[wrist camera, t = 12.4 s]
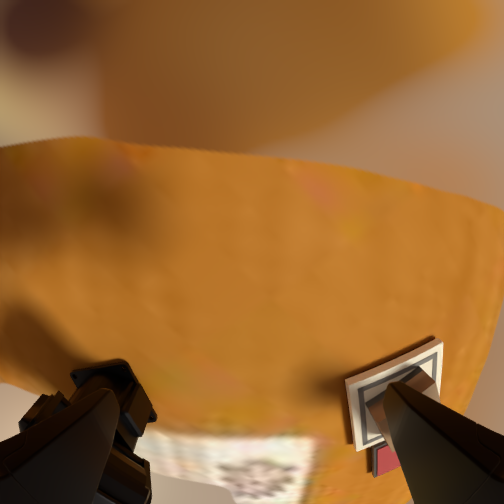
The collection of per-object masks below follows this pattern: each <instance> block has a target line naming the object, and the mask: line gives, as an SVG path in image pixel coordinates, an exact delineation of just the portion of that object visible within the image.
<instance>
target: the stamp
mask: <svg viewBox="0 0 504 504" xmlns="http://www.w3.org/2000/svg"><path fill="white" fill-rule="evenodd" d="M399 381H401V382H403V383H405V384H407V385H408V386H410V387H412V388H414V389H416V390H417V391H419V392H421V393H423V394H424V395H426V396H428V397H430V398H432V399H433V400H435V401H437V402H439V403H440V398H439V393H438V389H437V385H436V382H435V381H434V380H433V379H432V378H431V377H430V376H429V375H428V374H427V373H426V372H425V371H424V370H423V369H422V368H421V367H420V366H418V367H417V368H415V369H414V370H413V371H411V372H410V373H409V374H407V375H406V376H405V377H403V378H402V379H400V380H399ZM385 392H386V390H384V391H383V392H381V393H380V394H378V395H377V396H375V397H374V398H372V399H370V400H369V401H367V402H366V403H365V404H366V406H367V408H368V410H369V412H370V414H371V416H372V418H373V420H374V421H375V423H376V425H377V427H378V429H379V431H380V433H381V435H382V436H383V438H384V440H385V441H386V443H387V445H388V446H389V448H390V449H391V451H392V453H393V452H394V451H395V449H394V446H393V443H392V440H391V436H390V432H389V428H388V424H387V420H386V416H385V412H384V409H383V399H384V396H385Z"/></svg>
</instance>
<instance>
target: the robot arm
mask: <svg viewBox="0 0 504 504" xmlns="http://www.w3.org/2000/svg"><path fill="white" fill-rule="evenodd" d="M123 367H125V368H126V369H123ZM75 375H76V376H77V377H76V376H75ZM70 376H71V378H72V380H73V382H74V383H75V385H76V387H77V390H76V391H75V392H74V394H73V395H72V397H71V398H70V399H69V401H68V400H67V399H66V398H65V397H64V395H63V394H62V393H61V392H60V391H58V392H57V393H56V394H55V395H54V396H53V395H50V396H48V395H45V394H42V395H41V396H40V397H39V399H38V400H37V401H36V402H35V403H34V405H33V406H32V407H31V408H30V409H29V410H28V412H27V413H26V414H25V415H24V416H23V418H22V419H21V420H20V421H19V422H18V423H19V429H20V433H19V434H17V435H15V436H13V437H11V438H9V439H6V440H4V441H2V442H0V504H150V503H151V499H152V490H151V478H150V463H149V462H148V461H147V460H145V459H142V458H140V457H139V456H137V455H136V454H134V453H133V452H134V449H135V446H136V443H137V440H138V437H142V435H143V433H144V430H145V427H146V424H147V423H150V422H155V421H156V420H157V414H156V413H155V411H154V409H153V408H152V404H151V402H150V400H149V398H148V397H147V395H146V393H145V391H144V389H143V387H142V386H141V384H140V383H138V381H137V379H136V377H135V375H134V373H133V371H132V369H131V367H130V365H129V364H128V363H126V362H118V363H113V364H107V365H101V366H95V367H89V368H83V369H76V370H73V371H72V372H71V373H70ZM383 409H384V412H385V416H386V420H387V424H388V428H389V432H390V436H391V440H392V443H393V446H394V449H395V452H396V454H397V457H398V459H399V462H400V465H401V467H402V470H403V473H404V476H405V478H406V481H407V484H408V487H409V490H410V492H411V495H412V498H413V501H414V504H504V436H503V435H501V434H499V433H496V432H494V431H492V430H490V429H488V428H486V427H484V426H482V425H480V424H476V422H474V421H472V420H470V419H468V418H467V417H465V416H463V415H461V414H459V413H457V412H455V411H454V410H452V409H450V408H448V407H446V406H444V405H442V404H441V403H439V402H437V401H435V400H433V399H432V398H430V397H428V396H426V395H424V394H423V393H421V392H419V391H417V390H416V389H414V388H412V387H410V386H408V385H407V384H405V383H403V382H401V381H396V382H391V383H389V384H388V385H387V388H386V392H385V396H384V399H383ZM150 416H152V417H153V418H152V417H150Z"/></svg>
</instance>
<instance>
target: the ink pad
mask: <svg viewBox="0 0 504 504" xmlns="http://www.w3.org/2000/svg"><path fill="white" fill-rule="evenodd" d="M371 453H372V475H373V477H374V478H375V477H377V476H379V475H382V474H384V473H386V472H388V471H391V470H393V469H395V468H397V467H399V466H401V465H400V462H399V459H398V457H397V454H396V452H395V451H394V452H393V453H392V451H391V449H390V448H389V446H388V445H387V443H386V441H385V440H384V441H381V442H379V443H377V444H375V445H372V446H371Z"/></svg>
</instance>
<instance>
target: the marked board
mask: <svg viewBox="0 0 504 504" xmlns="http://www.w3.org/2000/svg"><path fill="white" fill-rule="evenodd" d="M442 358H443V342H442V341H441V340H440V339H438V338H436V339H434V340H432V341H431V342H429V343H427V344H425V345H423V346H421V347H419V348H417V349H415V350H413V351H411V352H408V353H406V354H404V355H402V356H400V357H398V358H396V359H393V360H391V361H389V362H387V363H384V364H382V365H380V366H377V367H375V368H373V369H370V370H368V371H365V372H363V373H360V374H358V375H355V376H353V377H350V378H347V379H345V384H346V391H347V397H348V404H349V412H350V419H351V427H352V435H353V444H354V447H355V449H356V451H360V450H363V449H365V448H367V447H370V446H372V445H375V444H377V443H379V442H381V441H384V438H383V436H382V435H381V433H380V431H379V429H378V427H377V425H376V423H375V421H374V420H373V418H372V416H371V414H370V412H369V410H368V408H367V406H366V404H365V403H366V402H367V401H369V400H370V399H372V398H374V397H375V396H377V395H378V394H380V393H381V392H383V391H384V390H386V388H387V385H388V384H389V383H391V382H396V381H399V380H400V379H402V378H403V377H405V376H406V375H407V374H409V373H410V372H411V371H413V370H414V369H415V368H417V367H418V366H420V367H421V368H422V369H423V370H424V371H425V372H426V373H427V374H428V375H429V376H430V377H431V378H432V379H433V380H434V381H435V382H436V385H437V389H438V393H439V394H440V384H441V373H442Z"/></svg>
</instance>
